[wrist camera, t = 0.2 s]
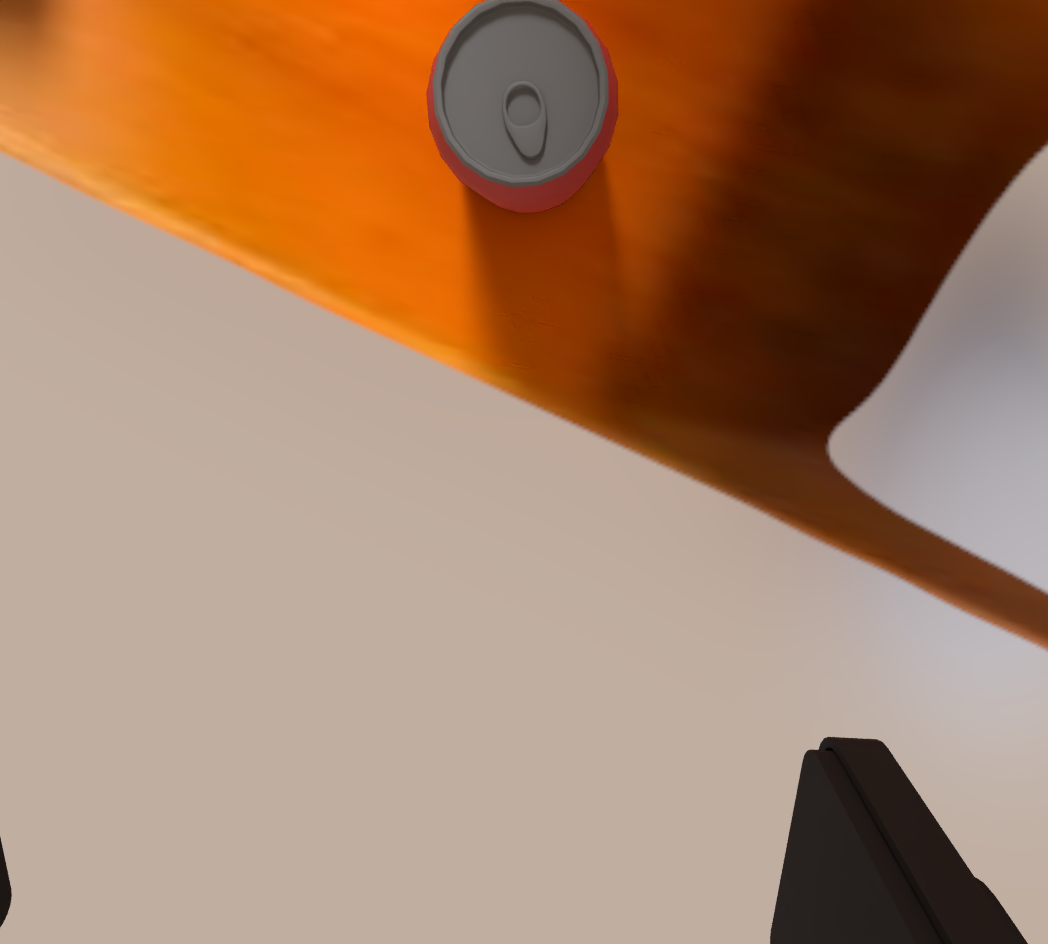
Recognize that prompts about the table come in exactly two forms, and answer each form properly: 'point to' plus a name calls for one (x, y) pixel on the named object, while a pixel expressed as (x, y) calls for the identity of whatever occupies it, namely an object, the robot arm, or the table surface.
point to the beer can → (522, 102)
